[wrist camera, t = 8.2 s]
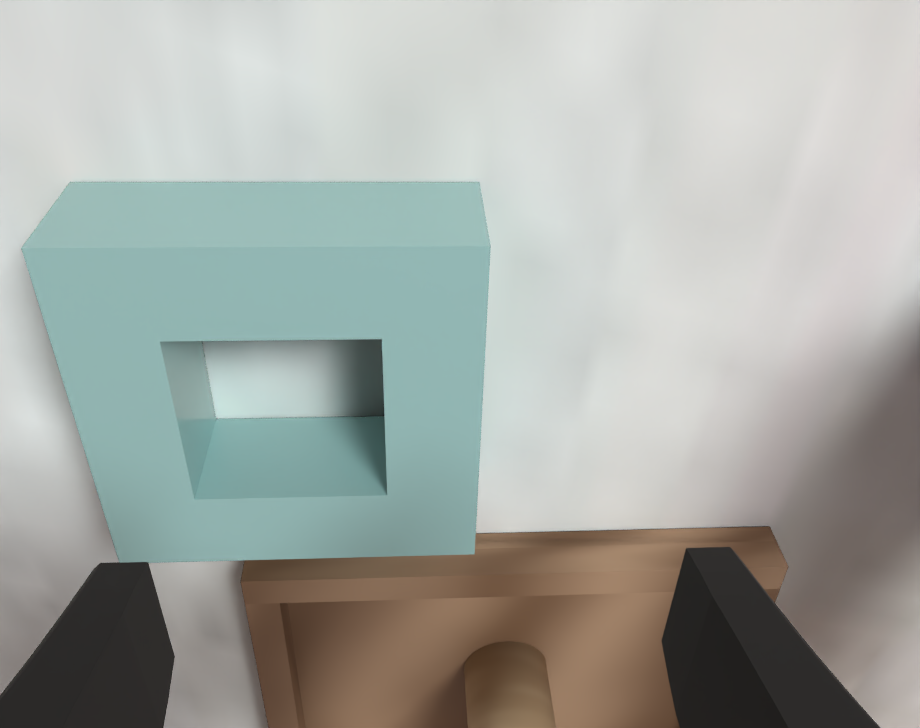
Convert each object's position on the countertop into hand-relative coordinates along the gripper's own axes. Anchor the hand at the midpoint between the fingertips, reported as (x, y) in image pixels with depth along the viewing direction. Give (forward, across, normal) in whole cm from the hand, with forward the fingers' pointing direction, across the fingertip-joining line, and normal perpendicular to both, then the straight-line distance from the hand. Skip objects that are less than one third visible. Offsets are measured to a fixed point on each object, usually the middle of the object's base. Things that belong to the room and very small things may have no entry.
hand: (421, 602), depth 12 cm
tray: (+10, -3, +16) cm, 19 cm away
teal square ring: (+10, +3, +3) cm, 11 cm away
